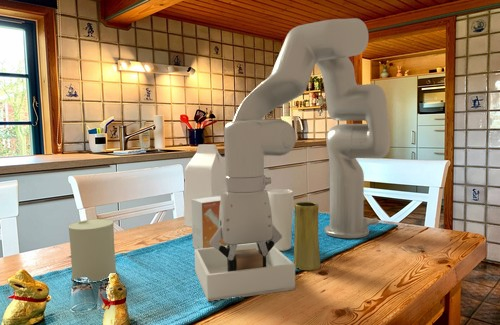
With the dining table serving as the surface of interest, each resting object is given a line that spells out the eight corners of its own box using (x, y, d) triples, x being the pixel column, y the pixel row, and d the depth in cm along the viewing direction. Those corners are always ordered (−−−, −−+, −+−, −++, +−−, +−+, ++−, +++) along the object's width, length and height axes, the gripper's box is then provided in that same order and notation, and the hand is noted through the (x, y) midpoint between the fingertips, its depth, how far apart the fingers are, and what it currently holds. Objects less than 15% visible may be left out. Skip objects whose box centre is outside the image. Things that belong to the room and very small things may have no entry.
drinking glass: (297, 246, 105) (296, 189, 104) (289, 253, 99) (288, 194, 98) (273, 243, 108) (272, 188, 106) (263, 250, 102) (262, 192, 100)
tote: (268, 262, 93) (268, 241, 93) (295, 289, 78) (295, 264, 77) (195, 271, 88) (194, 249, 88) (207, 301, 73) (207, 275, 72)
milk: (183, 225, 129) (180, 145, 126) (205, 218, 139) (203, 143, 136) (213, 230, 122) (211, 145, 120) (234, 222, 132) (232, 143, 130)
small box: (203, 253, 101) (201, 202, 99) (192, 247, 106) (190, 199, 105) (230, 247, 105) (229, 198, 104) (219, 241, 110) (217, 195, 109)
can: (97, 265, 94) (94, 215, 92) (125, 272, 89) (122, 219, 88) (62, 278, 86) (58, 224, 85) (90, 287, 81) (87, 229, 80)
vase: (314, 272, 86) (313, 207, 85) (288, 267, 89) (287, 205, 88) (324, 264, 91) (324, 202, 90) (300, 259, 94) (299, 200, 93)
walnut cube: (255, 271, 82) (255, 248, 82) (263, 280, 77) (262, 255, 77) (232, 274, 81) (231, 250, 80) (238, 284, 76) (237, 258, 75)
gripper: (279, 179, 83) (280, 264, 85) (198, 184, 79) (201, 274, 80) (293, 184, 76) (294, 277, 78) (204, 190, 71) (208, 288, 73)
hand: (247, 274), depth 79 cm, fingers closed on walnut cube, 4 cm apart
